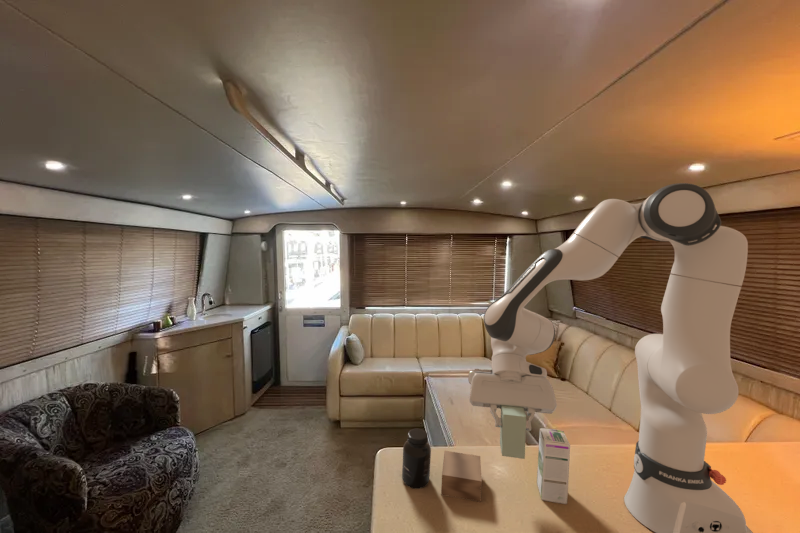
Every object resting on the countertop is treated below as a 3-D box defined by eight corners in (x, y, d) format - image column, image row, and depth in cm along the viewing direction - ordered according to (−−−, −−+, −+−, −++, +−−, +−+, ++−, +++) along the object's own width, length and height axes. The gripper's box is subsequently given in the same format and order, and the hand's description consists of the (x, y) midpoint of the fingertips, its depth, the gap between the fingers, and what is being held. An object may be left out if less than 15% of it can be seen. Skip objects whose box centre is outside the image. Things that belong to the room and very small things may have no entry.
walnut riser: (479, 474, 85) (480, 456, 84) (480, 501, 76) (481, 481, 75) (443, 468, 86) (444, 450, 86) (441, 494, 78) (441, 474, 77)
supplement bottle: (397, 484, 81) (398, 436, 80) (408, 466, 87) (410, 423, 86) (423, 493, 78) (425, 445, 77) (433, 475, 84) (435, 430, 83)
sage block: (521, 445, 81) (522, 406, 80) (524, 458, 76) (526, 416, 75) (499, 443, 82) (501, 403, 81) (501, 455, 77) (503, 414, 76)
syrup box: (567, 505, 76) (572, 444, 74) (540, 500, 77) (544, 440, 76) (560, 487, 81) (565, 430, 80) (535, 482, 82) (539, 426, 81)
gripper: (468, 363, 86) (468, 419, 77) (553, 369, 82) (562, 429, 73) (468, 373, 91) (467, 426, 82) (548, 379, 87) (556, 437, 78)
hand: (513, 428), depth 78 cm, fingers closed on sage block, 5 cm apart
